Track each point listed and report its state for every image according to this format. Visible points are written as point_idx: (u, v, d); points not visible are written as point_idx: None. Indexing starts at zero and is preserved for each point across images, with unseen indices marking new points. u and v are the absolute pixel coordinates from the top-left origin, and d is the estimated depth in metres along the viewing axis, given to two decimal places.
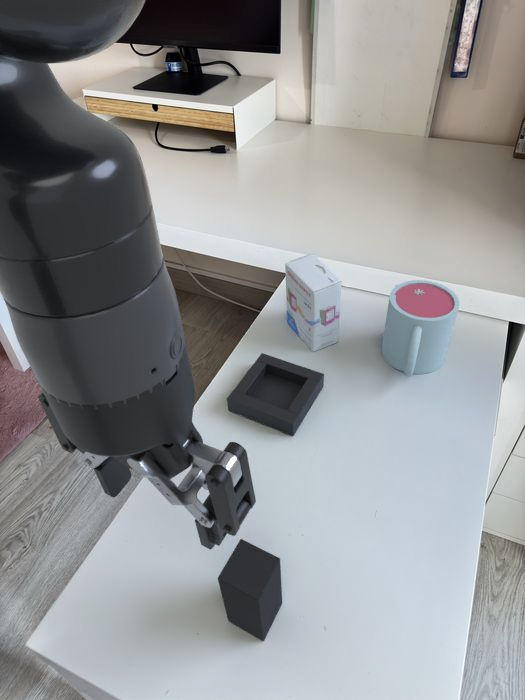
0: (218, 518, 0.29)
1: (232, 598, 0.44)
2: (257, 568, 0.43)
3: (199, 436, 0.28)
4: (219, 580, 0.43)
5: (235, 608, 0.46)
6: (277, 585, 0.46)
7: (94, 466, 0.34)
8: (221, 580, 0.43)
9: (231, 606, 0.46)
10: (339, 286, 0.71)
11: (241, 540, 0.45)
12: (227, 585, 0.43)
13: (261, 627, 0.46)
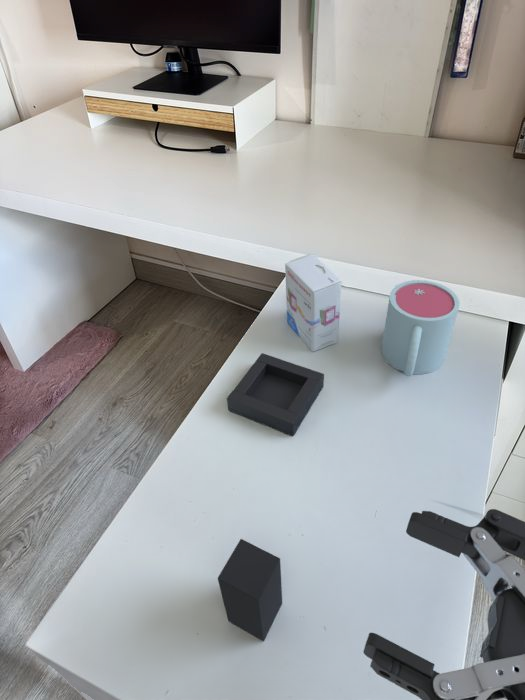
0: None
1: (232, 598, 0.44)
2: (257, 568, 0.43)
3: None
4: (219, 580, 0.43)
5: (235, 608, 0.46)
6: (277, 585, 0.46)
7: (476, 541, 0.33)
8: (221, 580, 0.43)
9: (231, 606, 0.46)
10: (339, 286, 0.71)
11: (241, 540, 0.45)
12: (227, 585, 0.43)
13: (261, 627, 0.46)
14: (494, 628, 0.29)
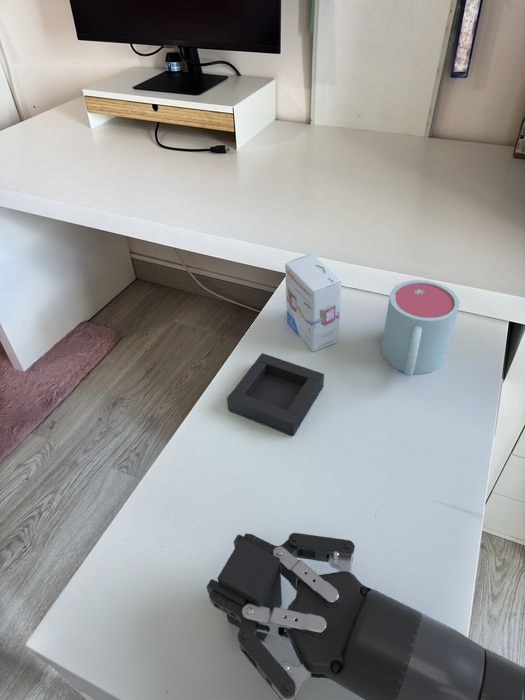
0: (256, 639, 0.40)
1: None
2: (257, 568, 0.43)
3: (317, 677, 0.39)
4: (219, 580, 0.43)
5: None
6: (277, 585, 0.46)
7: None
8: (221, 580, 0.43)
9: None
10: (339, 286, 0.71)
11: (241, 540, 0.45)
12: (227, 585, 0.43)
13: None
14: (292, 603, 0.42)
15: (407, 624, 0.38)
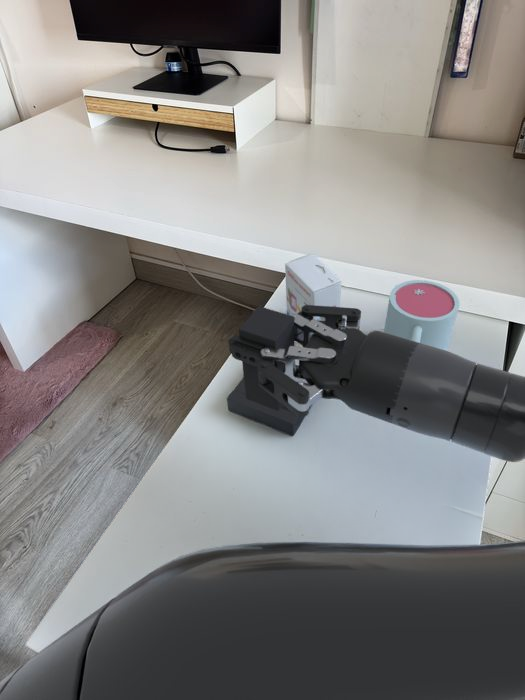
0: (274, 367, 0.45)
1: None
2: (273, 323, 0.48)
3: (328, 398, 0.45)
4: (240, 331, 0.48)
5: (253, 370, 0.51)
6: None
7: None
8: (242, 330, 0.48)
9: (250, 369, 0.51)
10: (339, 286, 0.71)
11: (259, 307, 0.50)
12: (247, 335, 0.48)
13: None
14: (305, 346, 0.47)
15: (407, 342, 0.43)
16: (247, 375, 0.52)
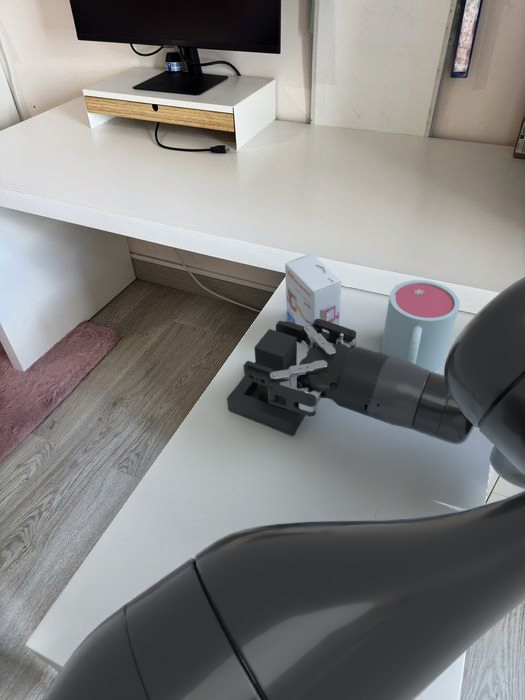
0: (280, 385, 0.58)
1: None
2: (281, 342, 0.63)
3: (321, 397, 0.59)
4: (255, 349, 0.63)
5: None
6: (294, 363, 0.66)
7: (305, 330, 0.65)
8: (257, 348, 0.63)
9: None
10: (339, 286, 0.71)
11: (269, 329, 0.65)
12: (261, 352, 0.63)
13: None
14: (304, 358, 0.62)
15: (380, 356, 0.58)
16: None
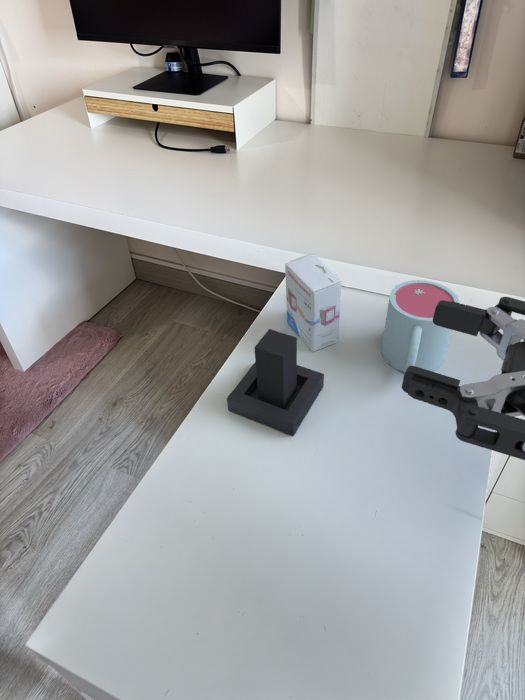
0: (487, 410, 0.33)
1: (263, 366, 0.64)
2: (281, 342, 0.63)
3: None
4: (255, 349, 0.63)
5: (265, 378, 0.66)
6: (294, 363, 0.66)
7: (491, 314, 0.40)
8: (257, 348, 0.63)
9: (262, 377, 0.66)
10: (339, 286, 0.71)
11: (269, 329, 0.65)
12: (261, 352, 0.63)
13: (283, 391, 0.66)
14: (507, 361, 0.36)
15: None
16: (260, 382, 0.67)
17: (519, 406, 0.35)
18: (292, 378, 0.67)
